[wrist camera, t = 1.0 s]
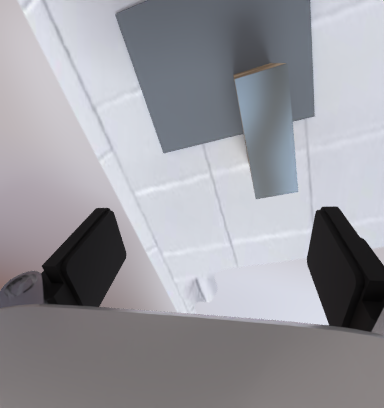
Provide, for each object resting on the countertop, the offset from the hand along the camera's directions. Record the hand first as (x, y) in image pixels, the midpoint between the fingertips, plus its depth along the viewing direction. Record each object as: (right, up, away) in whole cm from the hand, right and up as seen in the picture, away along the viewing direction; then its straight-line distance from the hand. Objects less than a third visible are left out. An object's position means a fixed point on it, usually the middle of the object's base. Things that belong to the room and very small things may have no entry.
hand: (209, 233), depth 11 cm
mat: (+2, +15, +13) cm, 20 cm away
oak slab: (+6, +10, +14) cm, 19 cm away
